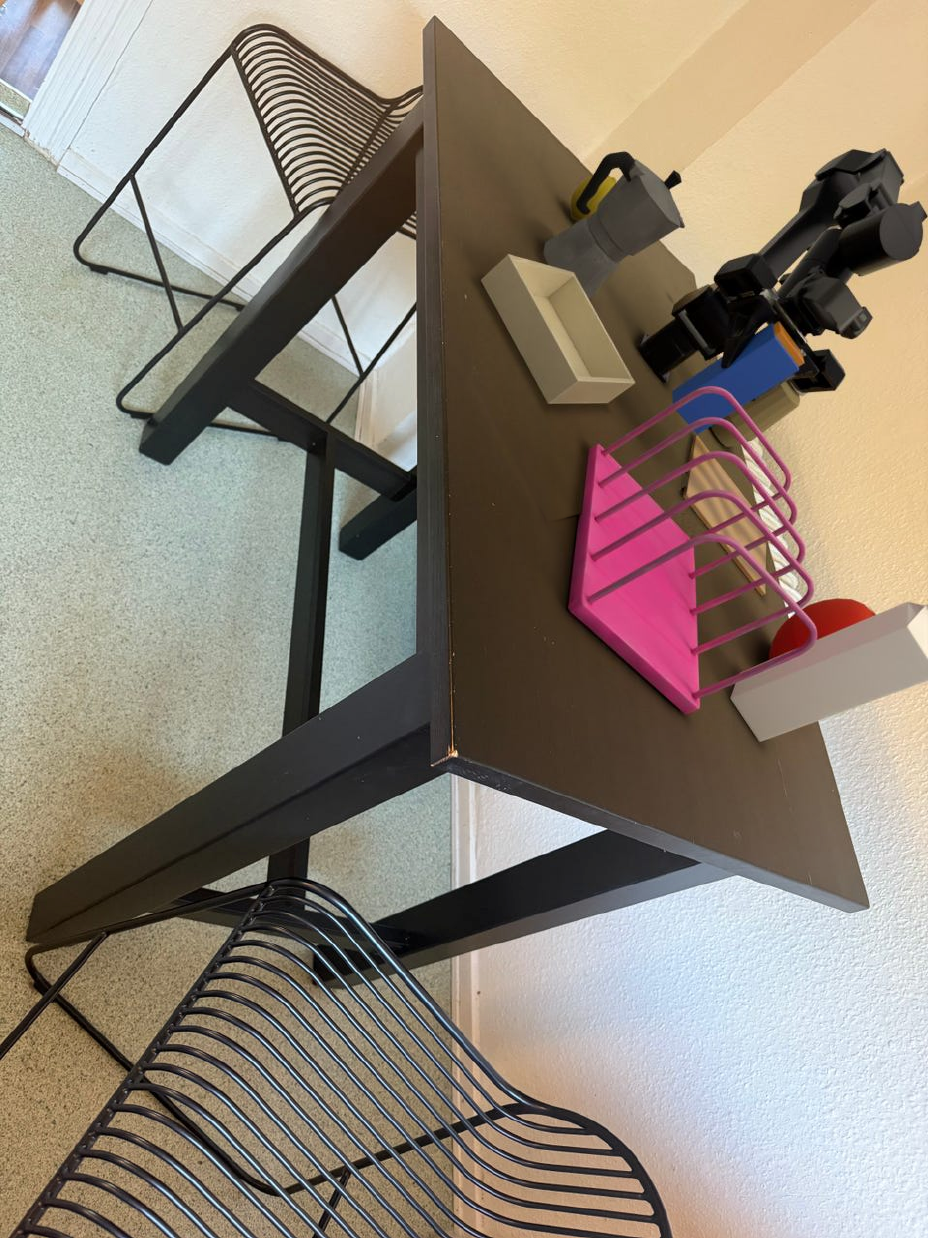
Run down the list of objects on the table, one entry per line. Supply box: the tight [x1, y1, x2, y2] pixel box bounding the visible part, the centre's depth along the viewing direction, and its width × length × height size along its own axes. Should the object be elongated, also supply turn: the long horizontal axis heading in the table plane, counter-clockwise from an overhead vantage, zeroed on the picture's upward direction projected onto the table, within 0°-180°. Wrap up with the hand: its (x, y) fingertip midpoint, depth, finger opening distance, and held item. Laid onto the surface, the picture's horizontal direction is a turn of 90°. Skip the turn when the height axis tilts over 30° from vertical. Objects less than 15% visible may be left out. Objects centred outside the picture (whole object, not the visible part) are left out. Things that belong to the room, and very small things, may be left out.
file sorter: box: [567, 386, 817, 715], centre depth 79 cm, size 17×25×16 cm
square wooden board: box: [682, 434, 767, 597], centre depth 113 cm, size 18×18×1 cm
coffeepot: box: [543, 151, 686, 300], centre depth 102 cm, size 15×9×18 cm, turn 103°
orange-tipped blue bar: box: [671, 322, 804, 435], centre depth 94 cm, size 4×5×14 cm
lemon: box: [570, 174, 618, 221], centre depth 119 cm, size 6×6×8 cm
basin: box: [480, 253, 636, 405], centre depth 92 cm, size 15×15×5 cm
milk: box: [729, 601, 928, 743], centre depth 84 cm, size 6×6×22 cm
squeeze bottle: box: [709, 380, 808, 448], centre depth 122 cm, size 8×8×18 cm
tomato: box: [768, 597, 877, 661], centre depth 96 cm, size 13×11×14 cm
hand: (737, 384), depth 93 cm, fingers closed on orange-tipped blue bar, 5 cm apart
